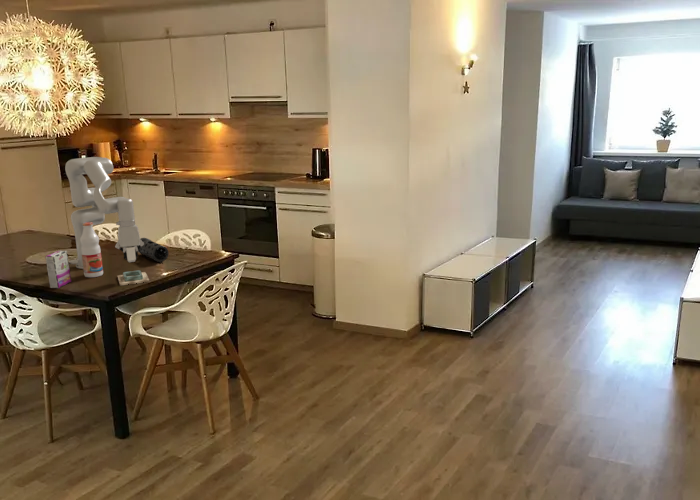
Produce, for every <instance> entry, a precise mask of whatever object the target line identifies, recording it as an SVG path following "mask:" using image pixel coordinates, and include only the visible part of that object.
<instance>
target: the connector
mask: <svg viewBox="0 0 700 500" xmlns="http://www.w3.org/2000/svg"><path fill="white" fill-rule="evenodd" d="M126 253H127V260H126V261H127V262H128V263H134V262H136V260H137V259H136V255H135V247H134V246H129V247H126Z"/></svg>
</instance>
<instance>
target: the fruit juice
mask: <svg viewBox="0 0 700 500" xmlns="http://www.w3.org/2000/svg"><path fill="white" fill-rule="evenodd" d="M93 226H94V225H93V223H92V222H85V223H83V227H84V229H83V234H82V236H81V238H80V242H81V245H82V248H81V254H82V262H83V269H82V270H83V274H84V277H85V278H96V277H97V278H98V277H101V276H103V274H104V268H103V266H104V265H103V257H102V252H101V251H102V250H101V246H100V244H99V242H100V237H99V235H97V233H96V231H95V230H94V227H93Z"/></svg>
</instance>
